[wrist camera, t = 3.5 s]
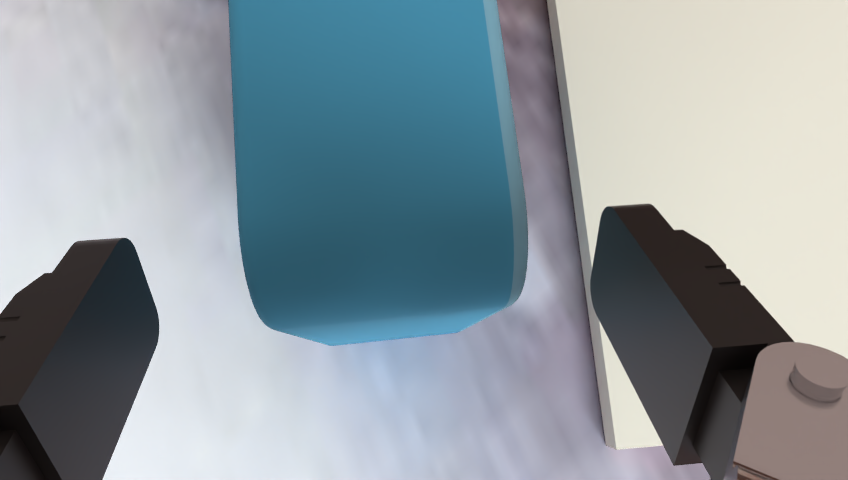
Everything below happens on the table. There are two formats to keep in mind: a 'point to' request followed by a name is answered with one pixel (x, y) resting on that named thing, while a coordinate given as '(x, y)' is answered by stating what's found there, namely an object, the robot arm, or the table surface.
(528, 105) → the table surface
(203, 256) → the table surface
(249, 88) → the data package
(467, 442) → the table surface
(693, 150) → the cream mat
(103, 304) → the robot arm
